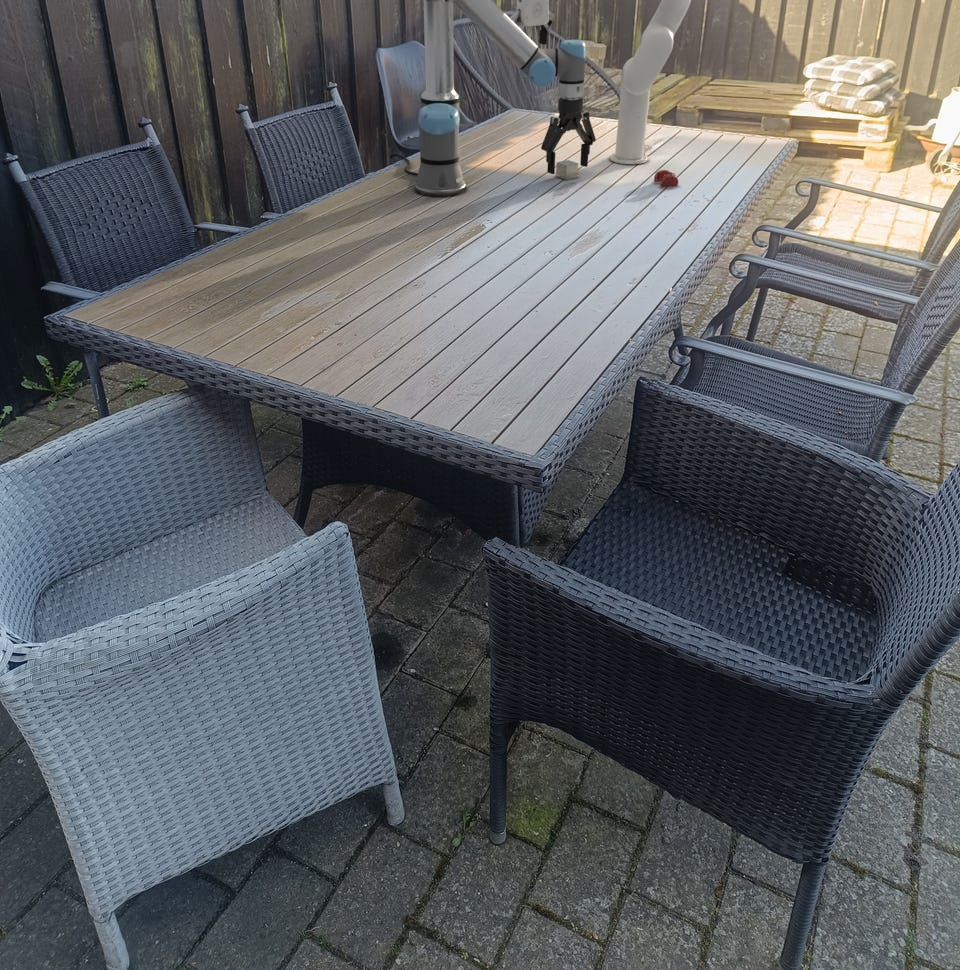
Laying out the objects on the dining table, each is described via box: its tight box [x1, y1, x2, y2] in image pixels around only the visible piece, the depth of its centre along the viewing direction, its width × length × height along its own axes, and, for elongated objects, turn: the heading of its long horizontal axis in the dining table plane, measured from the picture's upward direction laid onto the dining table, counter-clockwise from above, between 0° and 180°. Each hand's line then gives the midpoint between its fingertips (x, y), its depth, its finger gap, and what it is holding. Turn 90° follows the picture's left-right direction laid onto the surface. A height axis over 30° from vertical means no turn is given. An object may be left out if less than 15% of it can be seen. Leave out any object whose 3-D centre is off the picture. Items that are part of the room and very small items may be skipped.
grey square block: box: [555, 159, 579, 181], centre depth 269 cm, size 5×5×4 cm
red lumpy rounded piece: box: [653, 169, 679, 188], centre depth 261 cm, size 6×4×8 cm
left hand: (567, 169), depth 268 cm, fingers open, 13 cm apart
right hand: (531, 45), depth 269 cm, fingers open, 9 cm apart
